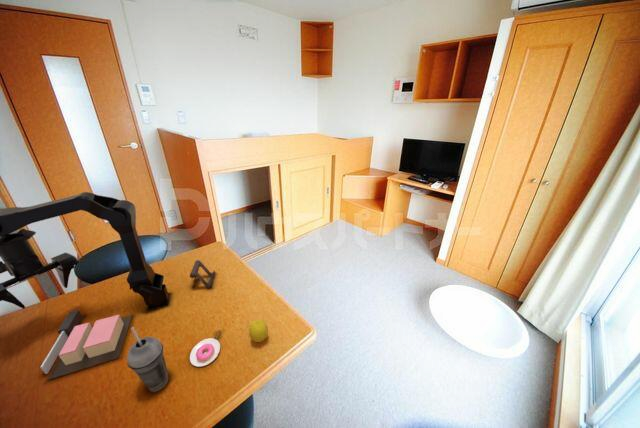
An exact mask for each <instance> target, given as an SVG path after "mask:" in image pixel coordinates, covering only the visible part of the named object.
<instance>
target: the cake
mask: <svg viewBox="0 0 640 428" xmlns="http://www.w3.org/2000/svg"><path fill="white" fill-rule="evenodd" d="M123 325H124V323H123V321H122V317H121V315H120V314H116V315H112V316H109V317H105V318H100V319H97V320H95V322H94V324H93V328H92V330H91V332H90V334H89V336H88V338H87V340H86V342H85V344H84V347H83V349H84V351H85V352H86V354H87V356H88V357H89V358H91V357H94V356H98V355H101V354H104V353H108V352H111V351H114V350H115V348H116V345H117V342H118V340H119V337H120V334H121V331H122V328H123Z"/></svg>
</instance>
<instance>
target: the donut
mask: <svg viewBox="0 0 640 428" xmlns="http://www.w3.org/2000/svg"><path fill="white" fill-rule="evenodd" d="M219 332H220V331H219ZM219 332H218V333H217V336H215V338H213V337H210V338H205V339H202V340H201V341H199V342H198V343H196V344H195V346H193V348H192V349H191V352H190V354H189V362H190V364H191V365H192V366H194V367H198V368H201V367H204V366H207V365H210V364H211V363H212V362H213V361H215V359H217V357H218V355H219V353H220V350H221V343H220V342H219V340H218V336H219Z"/></svg>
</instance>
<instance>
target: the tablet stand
mask: <svg viewBox="0 0 640 428" xmlns="http://www.w3.org/2000/svg"><path fill="white" fill-rule="evenodd" d="M200 268H201V269H202V270H203V271H204V272H205V273H206V274H207V276H209V279H208V282H207V281H206V280H205V279H204V278H203V277H202V276H201V274H200V273H198V272H199V269H200ZM215 275H216V271H215V270H213V272H211V271H210V270H209V269H208V268H207V267H206V266H205V265H204V263H203V262H202V261H201V260H199V259H197V260H195V261H194V264H193V266H192V269H191V271H190V273H189V278H191V279H194V280H193V283H192V286H191V287H192V288H194V285H195V282H196V280H197V279H198V280H199V281H200V282H201V283H202V284H203V286H205V287H206V288H207V289H212V288H213V283H214V280H215Z"/></svg>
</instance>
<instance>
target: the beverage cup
mask: <svg viewBox="0 0 640 428" xmlns="http://www.w3.org/2000/svg"><path fill="white" fill-rule="evenodd" d="M130 329H131V331H132V333H133V335H134V337H135V339H136V341H135V342H134V343H133V344H132V345H130V347H129V349H128V351H127V356H126V362H127V366H128V368H129V369H131V370H132V371H133V372H135V374H136V375H137V377H138V378H139V380H141V382H142V383H143V384H144V386H145V387H146V388H147V389H148V390H149V391H150V392H152V393H155V392H159V391H160V390H162V389H163V388H165V387H166V386H167V384H168V382H169V378H170V377H169V372H168V368H167V363H166V359H165V355H164V345H163V343H162V341H160V340H159V339H158V338H157V337H154V336H144V337H142V338H140V337H139V335H138V333H137V331H136V328H135V327H134V326H131V328H130Z"/></svg>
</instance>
